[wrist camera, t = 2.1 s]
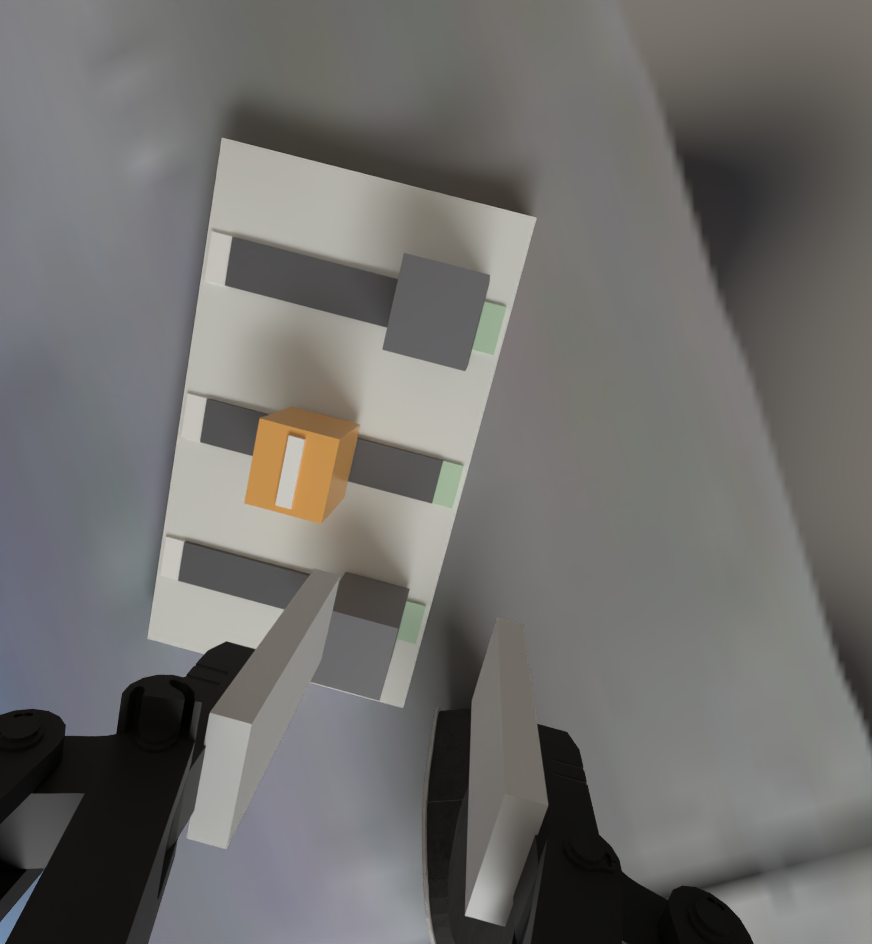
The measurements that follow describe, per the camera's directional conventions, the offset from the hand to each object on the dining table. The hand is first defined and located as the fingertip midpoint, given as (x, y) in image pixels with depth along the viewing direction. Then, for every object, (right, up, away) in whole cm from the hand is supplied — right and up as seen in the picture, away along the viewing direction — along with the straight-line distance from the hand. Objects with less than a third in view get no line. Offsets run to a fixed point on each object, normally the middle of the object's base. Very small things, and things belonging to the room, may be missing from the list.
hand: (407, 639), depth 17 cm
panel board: (-6, +7, +20) cm, 22 cm away
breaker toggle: (-6, +6, +17) cm, 19 cm away
